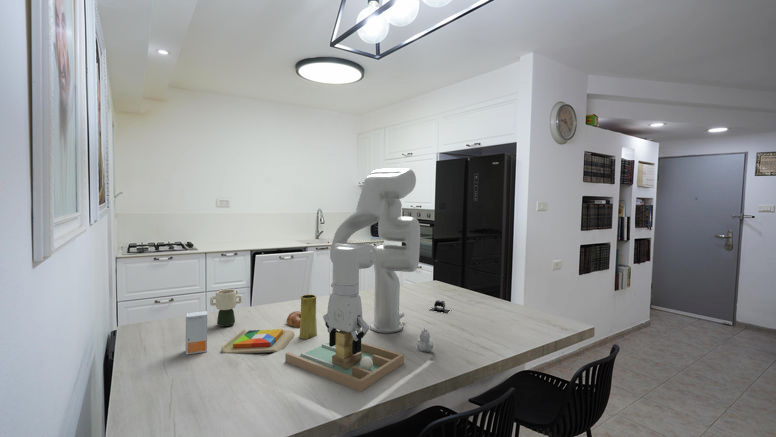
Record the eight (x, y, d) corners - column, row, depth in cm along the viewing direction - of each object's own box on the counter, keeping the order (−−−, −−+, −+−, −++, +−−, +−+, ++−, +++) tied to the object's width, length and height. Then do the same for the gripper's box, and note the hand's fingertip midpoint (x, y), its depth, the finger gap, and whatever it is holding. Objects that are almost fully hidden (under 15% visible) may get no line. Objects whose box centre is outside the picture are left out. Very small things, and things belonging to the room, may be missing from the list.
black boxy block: (455, 311, 163) (455, 301, 163) (451, 315, 157) (451, 305, 156) (428, 307, 168) (428, 297, 168) (423, 312, 162) (423, 301, 161)
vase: (312, 340, 125) (313, 299, 125) (296, 338, 127) (296, 297, 126) (319, 333, 131) (320, 294, 131) (303, 332, 133) (304, 293, 132)
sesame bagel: (309, 329, 137) (309, 319, 137) (281, 327, 138) (281, 318, 138) (317, 318, 149) (317, 309, 149) (291, 317, 150) (291, 308, 150)
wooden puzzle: (243, 334, 131) (243, 324, 131) (295, 335, 130) (295, 326, 130) (219, 354, 114) (219, 343, 114) (279, 356, 113) (279, 345, 113)
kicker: (346, 355, 110) (346, 326, 110) (361, 360, 107) (362, 330, 106) (330, 363, 104) (330, 332, 104) (345, 369, 101) (346, 337, 101)
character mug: (241, 320, 144) (241, 288, 144) (241, 326, 138) (241, 292, 137) (210, 323, 140) (210, 290, 139) (209, 329, 133) (209, 294, 133)
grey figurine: (425, 347, 121) (425, 323, 121) (438, 354, 116) (439, 329, 115) (412, 350, 118) (413, 326, 118) (425, 358, 113) (426, 332, 112)
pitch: (333, 344, 122) (333, 333, 122) (403, 366, 106) (404, 354, 106) (285, 365, 106) (285, 353, 106) (360, 396, 90) (360, 382, 90)
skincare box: (185, 355, 111) (185, 316, 111) (185, 350, 115) (185, 312, 115) (207, 352, 114) (207, 314, 114) (207, 347, 118) (207, 310, 117)
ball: (373, 370, 102) (363, 362, 104) (376, 359, 101) (367, 352, 103) (365, 375, 99) (355, 367, 101) (368, 363, 99) (359, 356, 100)
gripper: (314, 287, 107) (314, 345, 108) (361, 296, 97) (360, 361, 98) (332, 282, 113) (331, 338, 114) (377, 291, 103) (376, 352, 104)
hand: (344, 348), depth 106 cm, fingers open, 8 cm apart
